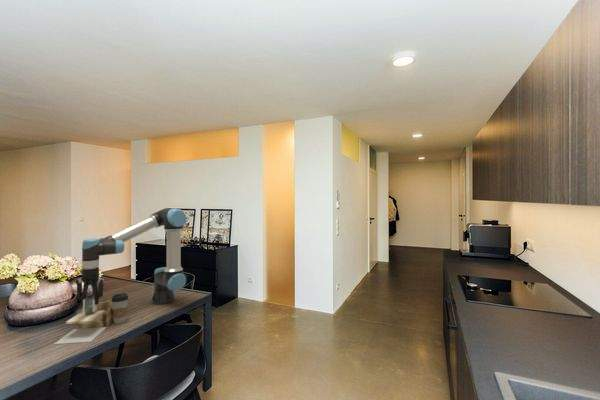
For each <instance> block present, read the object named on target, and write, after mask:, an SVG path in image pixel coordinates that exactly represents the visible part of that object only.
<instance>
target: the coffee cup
mask: <svg viewBox="0 0 600 400" xmlns="http://www.w3.org/2000/svg"><path fill="white" fill-rule="evenodd" d="M128 300H129V295H128V293H117V294H115V295H112V298H111V301H110V302H112V314H113V322H112V323H113V324H115V325H118V324H123V323H125V322H126V321H127V316H128V315H127V314H128V304H129V303H128V302H129V301H128Z"/></svg>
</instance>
